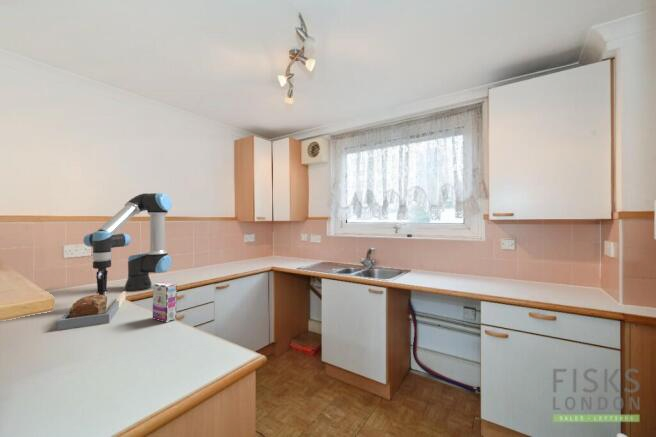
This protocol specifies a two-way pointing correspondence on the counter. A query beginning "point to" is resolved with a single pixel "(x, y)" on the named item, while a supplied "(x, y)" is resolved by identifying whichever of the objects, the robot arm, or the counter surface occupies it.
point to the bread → (89, 306)
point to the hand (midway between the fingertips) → (102, 304)
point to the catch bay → (93, 319)
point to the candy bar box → (164, 301)
